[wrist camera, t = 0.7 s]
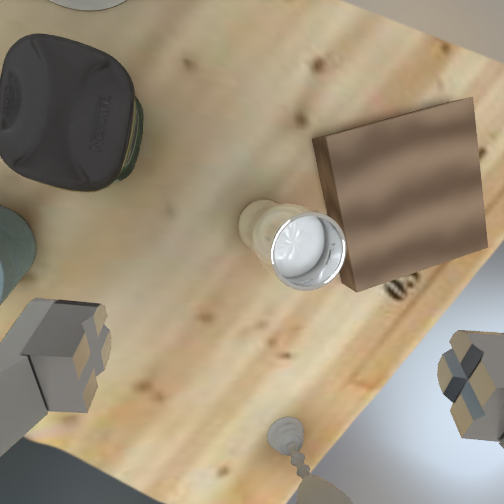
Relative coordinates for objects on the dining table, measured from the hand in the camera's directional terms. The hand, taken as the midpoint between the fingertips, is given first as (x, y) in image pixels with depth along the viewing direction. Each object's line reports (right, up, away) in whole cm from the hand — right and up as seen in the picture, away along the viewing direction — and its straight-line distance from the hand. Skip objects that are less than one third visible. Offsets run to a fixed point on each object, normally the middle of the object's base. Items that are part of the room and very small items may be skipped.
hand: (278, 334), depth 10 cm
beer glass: (+1, +5, +38) cm, 38 cm away
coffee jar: (-16, +14, +32) cm, 38 cm away
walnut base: (+17, +9, +40) cm, 45 cm away
